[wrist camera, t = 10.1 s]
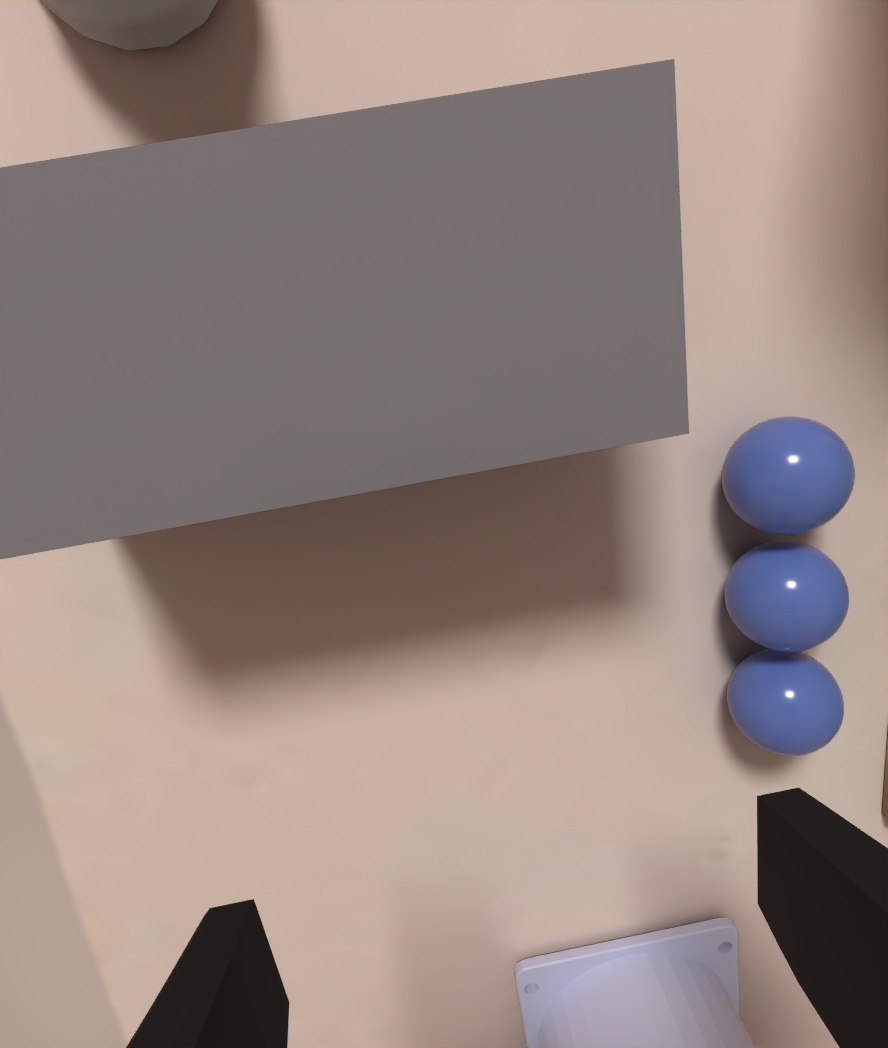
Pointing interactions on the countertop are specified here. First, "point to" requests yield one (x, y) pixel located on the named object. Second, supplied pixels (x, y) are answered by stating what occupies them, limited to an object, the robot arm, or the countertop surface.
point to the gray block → (338, 305)
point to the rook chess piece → (133, 20)
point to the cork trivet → (885, 787)
